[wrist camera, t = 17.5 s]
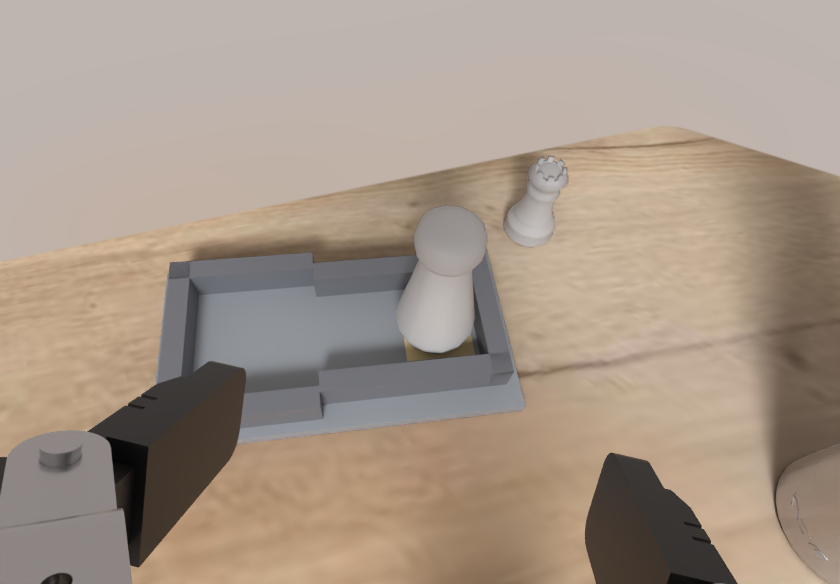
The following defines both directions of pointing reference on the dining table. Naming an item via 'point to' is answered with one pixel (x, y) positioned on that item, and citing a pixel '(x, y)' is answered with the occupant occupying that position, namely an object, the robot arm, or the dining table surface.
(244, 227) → the dining table surface
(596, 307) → the dining table surface
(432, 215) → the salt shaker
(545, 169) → the rook chess piece
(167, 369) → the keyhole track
